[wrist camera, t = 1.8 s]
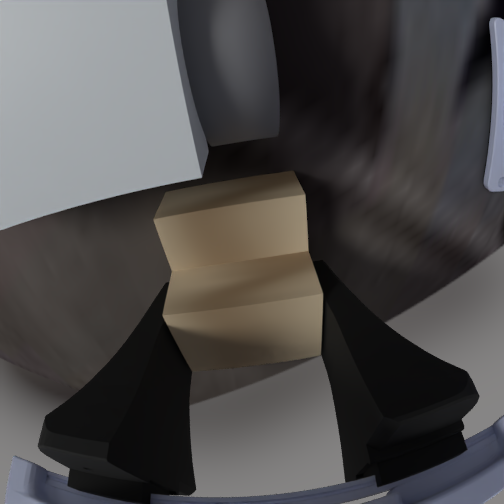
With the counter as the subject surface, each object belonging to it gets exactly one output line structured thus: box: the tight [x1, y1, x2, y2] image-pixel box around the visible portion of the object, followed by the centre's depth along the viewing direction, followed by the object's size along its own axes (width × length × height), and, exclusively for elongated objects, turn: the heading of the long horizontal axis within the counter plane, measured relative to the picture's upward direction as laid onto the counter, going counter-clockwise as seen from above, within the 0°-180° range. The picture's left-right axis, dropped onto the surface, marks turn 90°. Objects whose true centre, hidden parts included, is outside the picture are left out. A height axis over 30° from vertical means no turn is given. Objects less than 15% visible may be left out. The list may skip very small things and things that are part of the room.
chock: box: [153, 171, 323, 372], centre depth 10 cm, size 4×5×4 cm
